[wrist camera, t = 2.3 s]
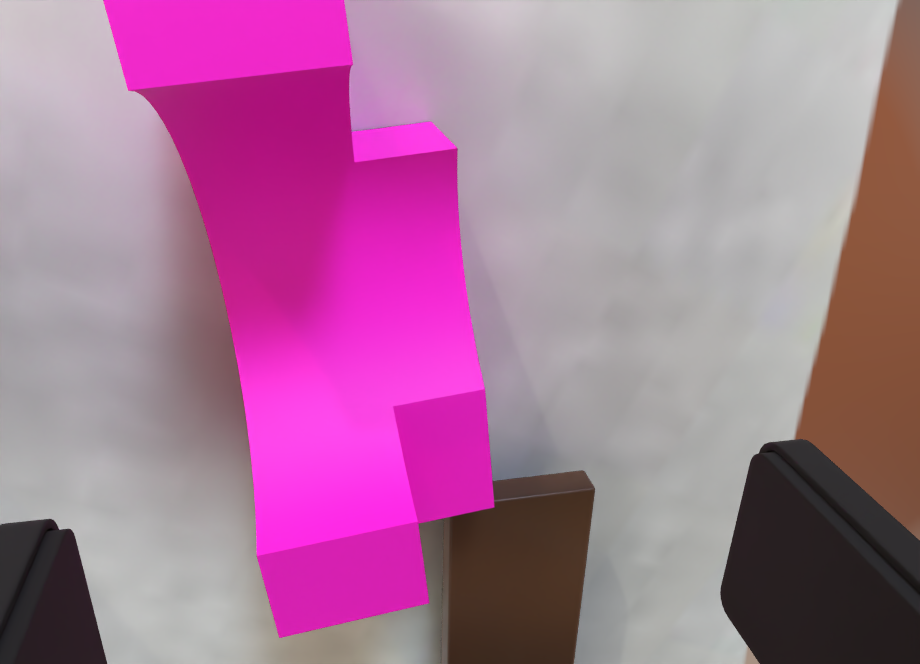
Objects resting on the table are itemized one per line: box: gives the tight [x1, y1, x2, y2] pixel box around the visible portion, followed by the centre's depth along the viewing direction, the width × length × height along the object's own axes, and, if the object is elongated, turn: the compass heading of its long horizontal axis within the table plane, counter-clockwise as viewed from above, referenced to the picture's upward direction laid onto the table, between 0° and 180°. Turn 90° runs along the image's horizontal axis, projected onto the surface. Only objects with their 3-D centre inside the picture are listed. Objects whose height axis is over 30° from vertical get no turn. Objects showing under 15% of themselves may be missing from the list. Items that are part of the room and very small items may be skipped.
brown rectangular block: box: [441, 471, 595, 664], centre depth 29 cm, size 15×5×3 cm, turn 179°
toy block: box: [103, 0, 494, 638], centre depth 19 cm, size 15×6×8 cm, turn 5°
